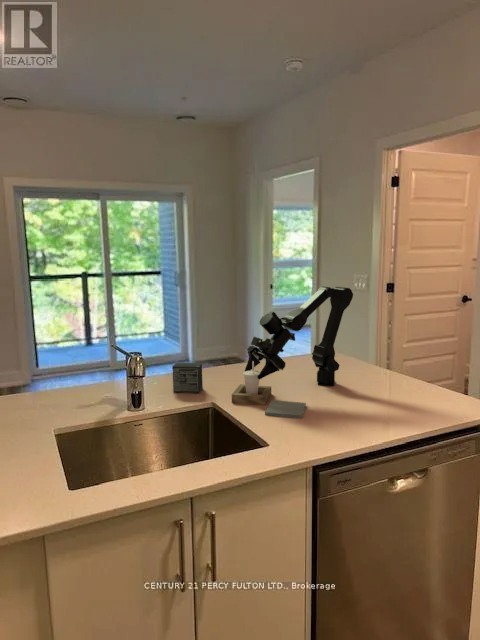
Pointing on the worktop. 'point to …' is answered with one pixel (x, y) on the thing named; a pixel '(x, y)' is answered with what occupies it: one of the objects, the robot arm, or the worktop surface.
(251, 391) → the smoothie
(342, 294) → the robot arm
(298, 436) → the worktop surface
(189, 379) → the small box
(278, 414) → the coaster
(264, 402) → the holder
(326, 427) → the worktop surface
